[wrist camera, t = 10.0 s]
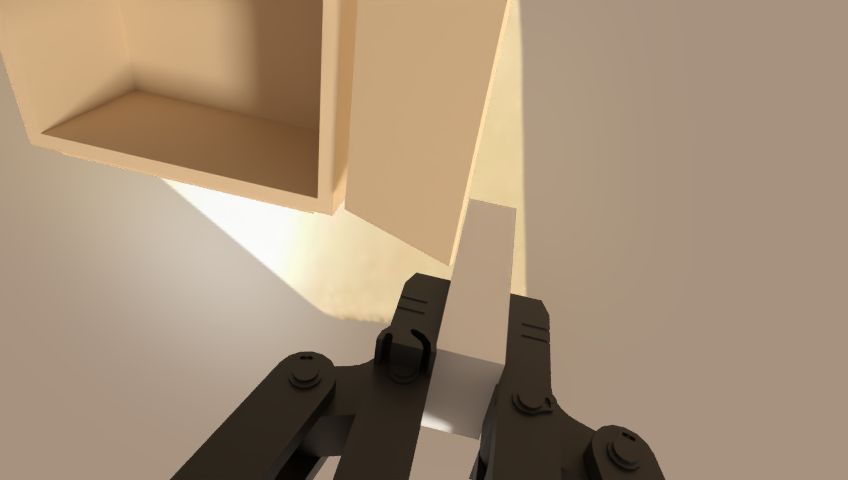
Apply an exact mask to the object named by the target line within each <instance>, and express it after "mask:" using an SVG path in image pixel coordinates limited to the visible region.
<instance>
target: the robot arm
mask: <svg viewBox="0 0 848 480" xmlns="http://www.w3.org/2000/svg"><path fill="white" fill-rule="evenodd" d="M515 220H516V209H515V208H510V207H506V206H501V205H497V204H492V203H487V202H483V201H478V200H474V199H470V200H469V205H468V209H467V214H466V218H465V222H464V227H463V231H462V235H461V240H460V244H459V248H458V253H457V257H456V262H455V266H454V270H453V275H452V279H451V281H450V280H446V279H441V278H437V277H433V276H428V275H424V274H420V273H416V274H414V275H413V276H412V277H411V278H410V279H409V280H408V281H406V282H405V285H404V288H403V291H402V293H401V297H400V299H399V302H398V305H397V309H396V311H395V314H394V317H393V319H392V322H391V325H390V326H389V327H387V328H386V329H384V330H382V331H381V333H380V334H379V336H378V337H377V340H376V348H375V356H374V359H372V360H370V361H369V362H366V363H363V364H361V365H354V366H336V367H335V366H334V365H333V363H332V361H331V360H330V359H328V358H327V357H325V356H324V355H322V354H319V353H315V352H298V353H296V354H292V355H289V356H288V357H287V358H285V359H284V360H283V361H281V362H280V363H279V364H278V365H277V366H276V367H275V368H274V369H273V370H272V371H271V372H270V373H269V375H268V376H267V377H266V378H265V379H264V380H263V381H262V382H261V383H260V384H259V385H258V386H257V387H256V388H255V389H254V390H253V392H252V393H251V394H250V395H249V396H248V397H247V398H246V399H245V400H244V401H243V402H242V403H241V404H240V406H239V407H238V408H237V409H236V410H235V411H234V412H233V413H232V414H231V415H230V416H229V417H228V418H227V419H226V420H225V422H224V423H223V424H222V425H221V426H220V427H219V428H218V429H217V430H216V431H215V432H214V433H213V434H212V435H211V437H209V439H208V440H207V441H206V442H205V443H204V444H203V445H202V446H201V447H200V448H199V449H198V450H197V451H196V453H194V455H193V456H192V457H191V458H190V459H189V460H188V461H187V462H186V463H185V464H184V465H183V466H182V467H181V468H180V470H179V471H178V472H177V473H176V474H175V475H174V476H173V477H172V478H171V479H170V480H313V479H314V477H315V476H316V474H317V473H318V471H319V470H320V468H321V467H322V466H323V464H324V463H325V461H326V460H327V458H328V456H341V458H340V461H339V464H338V467H337V469H336V473H335V475H334V478H333V480H409V476H410V471H411V466H412V462H413V458H414V453H415V448H416V444H417V439H418V435H419V430H420V426H421V425H422V426H426V427H430V428H435V429H438V430H442V431H446V432H450V433H454V434H458V435H462V436H466V437H470V438H474V439H478V440H479V437H480V434H481V443H480V450H479V452H478V455H477V458H476V460H475V463H474V466H473V469H472V472H471V474H470V477H469V479H472V480H665V478H664V476H663V474H662V471H661V469H660V467H659V465H658V462H657V460H656V458H655V455H654V454H653V452H652V451H651V449H650V447H649V446H648V444H647V443H646V442H645V441H644V440H643V439H642V438H640V437H639V436H638V435H637V434H636V433H634V432H632V431H630V430H628V429H626V428H624V427H619V426H615V425H609V426H603V427H601V428H600V429H598V430H597V431H594V430H592V429H591V428H589V427H587V426H585V425H583V424H582V423H579V422H578V421H576V420H575V419H573V418H572V417H570V416H568V414H566V413H565V412H564V411H563V410H562V409H561V408H560V406H559V405H558V404H557V401H556V398H555V397H554V395H553V394H552V389H551V370H550V344H549V342H550V333H549V330H550V326H549V314H548V312H547V310H546V308H545V306H544V304H543V303H542V301H541V300H537V299H532V298H528V297H524V296H519V295H515V294H511V293H510V289H511V275H512V261H513V248H514V234H515ZM481 432H482V433H481Z"/></svg>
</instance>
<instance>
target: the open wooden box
mask: <svg viewBox="0 0 848 480" xmlns="http://www.w3.org/2000/svg"><path fill="white" fill-rule="evenodd" d="M357 7H358V0H0V52H1V55H2V58H3V61H4V64H5V67H6V70H7V73H8V76H9V79H10V82H11V85H12V88H13V92H14V94H15V98H16V101H17V104H18V107H19V110H20V113H21V116H22V119H23V122H24V125H25V128H26V131H27V134H28V137H29V140H30V143H31V145H36V146H40V147H44V148H48V149H52V150H57V151H60V153H61V154H64V155H68V156H72V157H77V158H81V159H85V160H89V161H93V162H98V163H102V164H106V165H110V166H115V167H119V168H123V169H127V170H131V171H136V172H140V173H144V174H148V175H152V176H157V177H161V178H165V179H169V180H174V181H178V182H182V183H186V184H190V185H195V186H199V187H203V188H207V189H212V190H216V191H220V192H224V193H228V194H233V195H237V196H241V197H245V198H250V199H254V200H258V201H262V202H266V203H271V204H275V205H279V206H283V207H288V208H292V209H296V210H300V211H304V212H309V213H314V212H319V213H323V214H327V215H332V216H333V214H334V213H335V211H336V210H337V208H338V207H339V205H340V204H341V203H342V201H343V200H344V198H345V197H346V181H347V165H348V149H349V134H350V118H351V102H352V86H353V71H354V55H355V39H356V23H357Z"/></svg>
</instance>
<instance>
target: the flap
mask: <svg viewBox="0 0 848 480" xmlns="http://www.w3.org/2000/svg"><path fill="white" fill-rule="evenodd" d="M511 2H512V0H358V7H357V23H356V39H355V55H354V71H353V86H352V102H351V118H350V134H349V149H348V165H347V181H346V197H345V209H346V210H347V211H349V212H351V213H353V214H355V215H357V216H358V217H360V218H362V219H364V220H366V221H367V222H369V223H371V224H373V225H375V226H377V227H378V228H380V229H382V230H384V231H386V232H388V233H389V234H391V235H393V236H395V237H397V238H398V239H400V240H402V241H404V242H406V243H408V244H409V245H411V246H413V247H415V248H417V249H418V250H420V251H422V252H424V253H426V254H428V255H429V256H431V257H433V258H435V259H437V260H439V261H440V262H442V263H444V264H446V265H448V266H450V265H451V264H452V263H453V261H454V257H455V252H456V248H457V243H458V239H459V234H460V230H461V225H462V221H463V216H464V212H465V208H466V203H467V199H468V194H469V190H470V185H471V181H472V176H473V172H474V167H475V163H476V158H477V154H478V150H479V145H480V141H481V136H482V132H483V127H484V123H485V118H486V114H487V109H488V105H489V100H490V96H491V92H492V87H493V83H494V78H495V74H496V69H497V65H498V60H499V56H500V51H501V47H502V42H503V38H504V34H505V29H506V25H507V20H508V16H509V11H510V7H511Z"/></svg>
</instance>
